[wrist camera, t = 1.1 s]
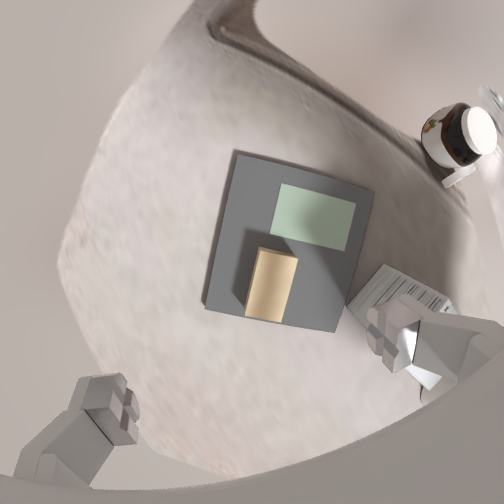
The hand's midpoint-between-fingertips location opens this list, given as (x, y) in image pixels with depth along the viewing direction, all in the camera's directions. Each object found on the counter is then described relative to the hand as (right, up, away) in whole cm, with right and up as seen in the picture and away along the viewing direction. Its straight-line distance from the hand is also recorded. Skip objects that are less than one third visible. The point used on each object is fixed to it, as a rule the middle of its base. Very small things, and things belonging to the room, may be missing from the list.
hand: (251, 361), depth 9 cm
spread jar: (+32, +20, +31) cm, 49 cm away
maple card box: (+2, -1, +33) cm, 33 cm away
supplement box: (+21, -5, +35) cm, 41 cm away
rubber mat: (+5, +4, +33) cm, 34 cm away
